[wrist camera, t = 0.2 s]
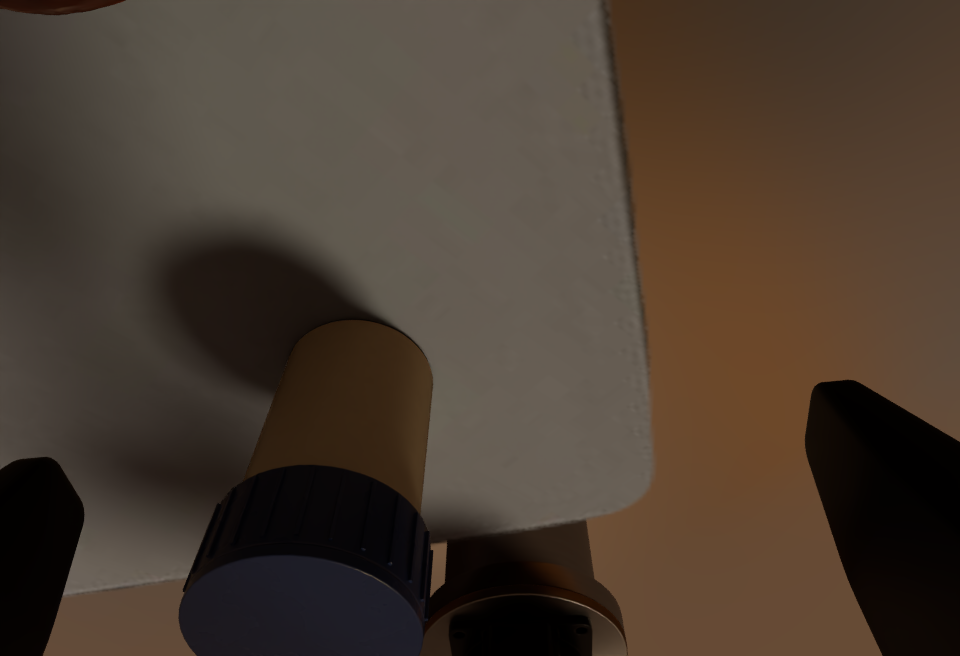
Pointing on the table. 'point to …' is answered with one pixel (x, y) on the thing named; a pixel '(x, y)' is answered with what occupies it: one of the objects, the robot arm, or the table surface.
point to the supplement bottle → (55, 6)
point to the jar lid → (310, 569)
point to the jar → (352, 407)
